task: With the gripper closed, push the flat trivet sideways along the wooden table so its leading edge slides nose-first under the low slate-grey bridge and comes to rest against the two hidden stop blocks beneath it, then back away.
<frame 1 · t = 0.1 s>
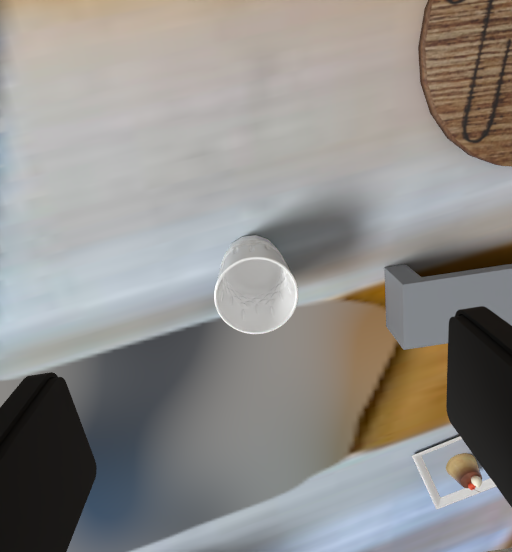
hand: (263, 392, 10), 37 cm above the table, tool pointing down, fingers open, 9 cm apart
dessert: (458, 461, 61), on the table
white cup: (252, 262, 48), on the table
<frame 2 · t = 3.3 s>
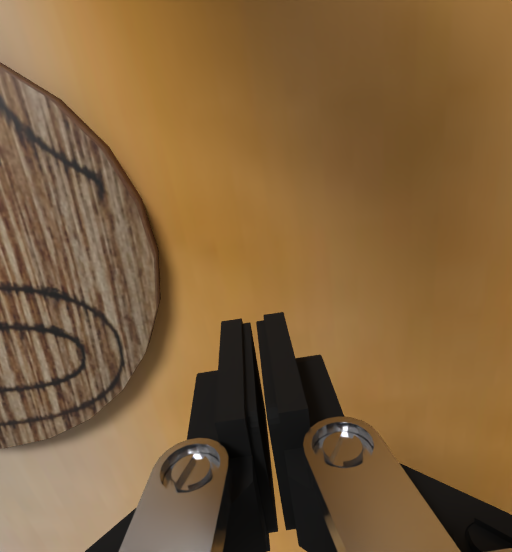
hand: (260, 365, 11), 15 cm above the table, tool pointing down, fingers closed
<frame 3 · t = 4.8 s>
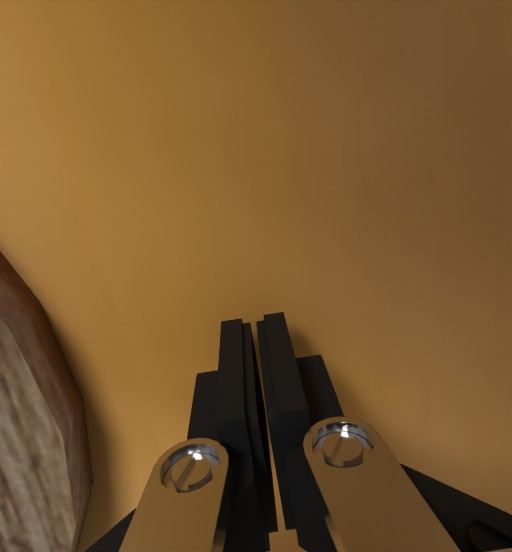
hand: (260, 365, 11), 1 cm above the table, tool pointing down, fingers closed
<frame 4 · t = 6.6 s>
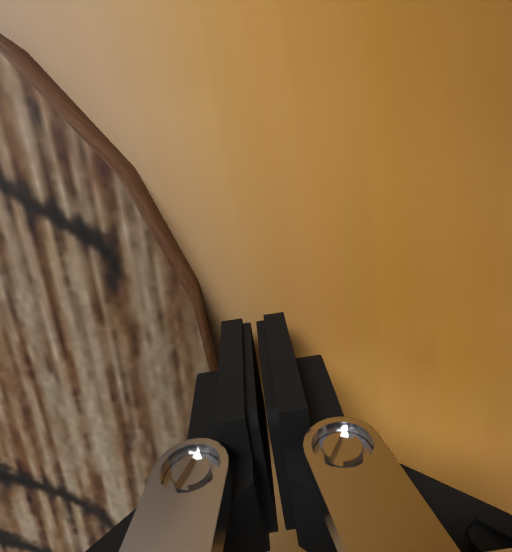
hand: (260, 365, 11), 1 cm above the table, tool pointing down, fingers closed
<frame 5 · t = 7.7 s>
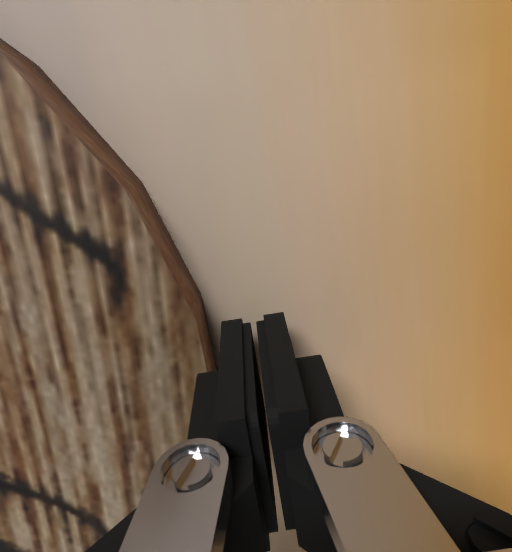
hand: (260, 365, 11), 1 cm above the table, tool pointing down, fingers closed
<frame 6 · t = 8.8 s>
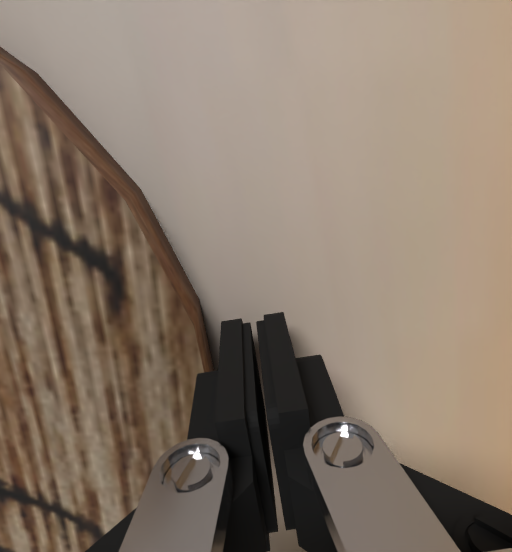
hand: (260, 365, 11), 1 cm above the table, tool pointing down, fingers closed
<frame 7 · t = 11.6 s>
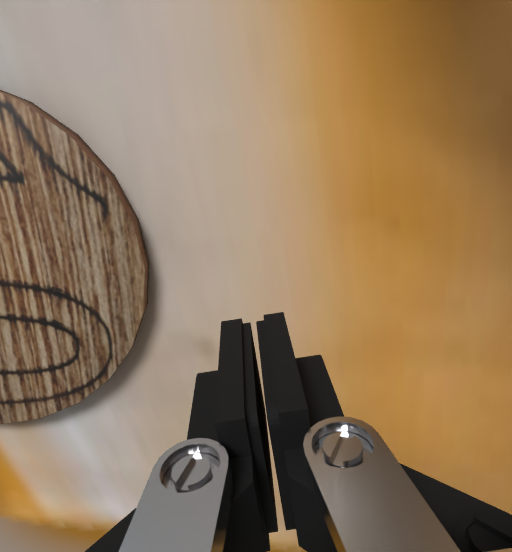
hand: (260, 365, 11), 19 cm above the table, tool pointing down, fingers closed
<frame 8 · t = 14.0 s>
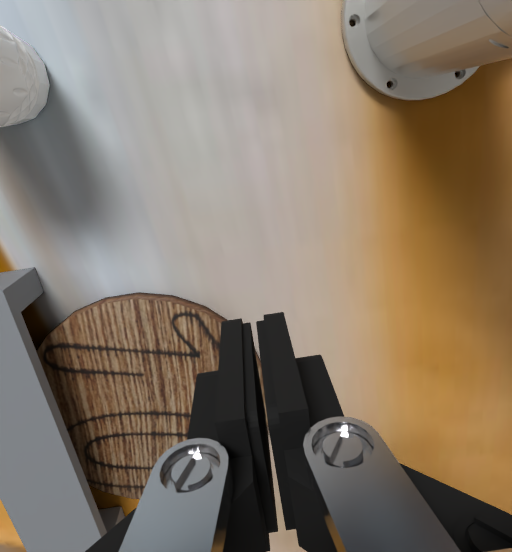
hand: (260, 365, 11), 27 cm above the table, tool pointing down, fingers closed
trivet: (153, 397, 44), on the table
white cup: (7, 79, 32), on the table
bridge: (49, 416, 44), on the table
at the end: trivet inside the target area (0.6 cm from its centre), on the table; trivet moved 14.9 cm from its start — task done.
